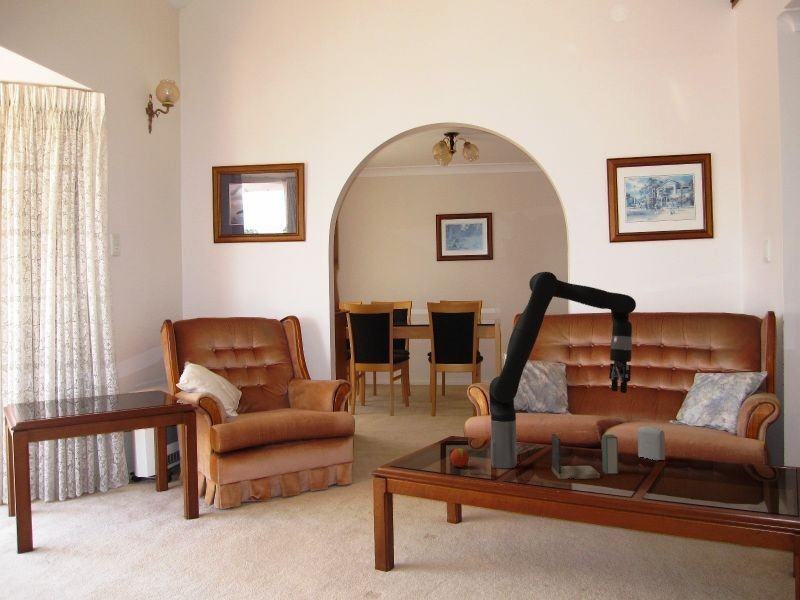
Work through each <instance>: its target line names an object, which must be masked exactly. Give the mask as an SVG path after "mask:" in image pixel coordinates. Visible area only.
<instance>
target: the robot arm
mask: <svg viewBox="0 0 800 600" xmlns="http://www.w3.org/2000/svg"><path fill="white" fill-rule="evenodd" d="M528 285H529V289H530V291H531V294H530V297H529V300H528V302H527V305H526V306H525V307H524V309H523V312H522V313H521V314H520V316H519V318H518V320H517V321H516V323H515V324H514V326H513V327H514V328H513V329H512V331H511V332H512V333H511V334H510V337H509V341H508V346H507V349H506V350H507V351H506V357H505V362H504V364H503V367H502V369H501V372H500V374H499V376H496V377H495V378H493V379H492V380H491V381H490V384H489V388H488V389H489V412H490V427H491V428H490V432H491V434H490V435H491V436H490V438H491V439H490V465H491V466H492V468H493V469H494V468H496V469H513V468H516V467H517V464H518V463H517V462H518V461H517V413H516V409H515V398H516V396H517V394H518V391H519V387H520V383H521V378H522V375H523V373H524V369H525V367H526V365H527V363H528V360H529V358H530V357H531V356H530V355H531V353H532V352H533V351H532V350H533V349H534V346H535V344H536V341H537V339H538V336H539V333H540V330H541V327H542V326H543V322H544V319H545V315H546V312H547V309H548V307H549V306H550V304H551V301H552V300H553V298H559V299H564V300H568V301H572V302H575V303H578V304H582V305H585V306H589V307H593V308H597V309H602V310H610V314H611V322H612V331H611V340H610V341H611V342H610V351H609V352H610V355H609V356H610V357H609V360H610V361H611V362H612V361H613V362H612V363H611V362H610V364H609V373H608V374H609V375H608V376H609V380H610V382H611V389H610V391H612V392H618V388H619V382H618V381H619V380H620V389H619V392H620V393H621V394H627V392H628V391H627V390H628V383H629V382H630V381H631V373H632V371H631V370H632V367H631V366H632V365H631V364H628V363H630V362H632V350H633V347H632V346H633V343H632V342H633V341H632V340H633V339H632V337H633V336H632V333H633V324H632V322H631V321H630V316H629V314H631V313H633V312H634V311H635V310H636V307H637V302H636V300H635V299H634V298H633V296H631V295H628V294H623V293H619V292H611V291H607V290H604V289H600V288H597V287H593V286H592V287H591V286H587V285H580V284H575V283H570V282H567V281H566V282H565V281H563V280H562V281H561V280H559V279H558V278H557V276H556V275H555V274H554V273H553V272H550V271H541V272H540V271H539V272H537V273H535V274H534V275H532V276H531V278H530V280H529V284H528Z"/></svg>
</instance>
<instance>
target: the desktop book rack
mask: <svg viewBox="0 0 800 600" xmlns="http://www.w3.org/2000/svg"><path fill="white" fill-rule="evenodd" d="M561 450H562V448H561V438H560V437H559V436H558V435H556V434H555V433H551V460H552V461H551V465H552V466H551V471H552V472H553V474H554V475H555V476H556V477H557V478H558V479H559V480H561V479H562V480H569V479H568V478H570V480H572V479H571V478H574V479H575V480H577V479H578V480H579V479H580V480H581V479H582V480H584V479H601V474H600V473H599V472H598V471H597V470H596V469H595V468H594V467H592V466H591V465H565V466H563V465H562V459H561V458H562V457H561V455H562V454H561V452H562V451H561ZM574 479H573V480H574Z"/></svg>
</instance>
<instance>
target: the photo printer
mask: <svg viewBox="0 0 800 600" xmlns="http://www.w3.org/2000/svg"><path fill="white" fill-rule="evenodd" d="M637 449H638V450H637V453H638V455H637V456H638V458H640V457H644V458H643V459H646V458H648V459H647V460H652V459H653V460H654V461H658V460H664V461H665V460H666V445H665V431H664V430H663V429H661V428H658V427H655V426H647V425H646V426H641V427H638V430H637ZM653 460H652V461H653Z"/></svg>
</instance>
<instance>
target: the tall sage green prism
mask: <svg viewBox="0 0 800 600" xmlns="http://www.w3.org/2000/svg"><path fill="white" fill-rule="evenodd" d="M618 446H619V444H618V436H616V435H615V434H602V435H601V450H602V451H601V453H602V458H601V459H602V460H601V461H602V472H603V473H605V474H606V475H619V454H618V453H619V447H618Z"/></svg>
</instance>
